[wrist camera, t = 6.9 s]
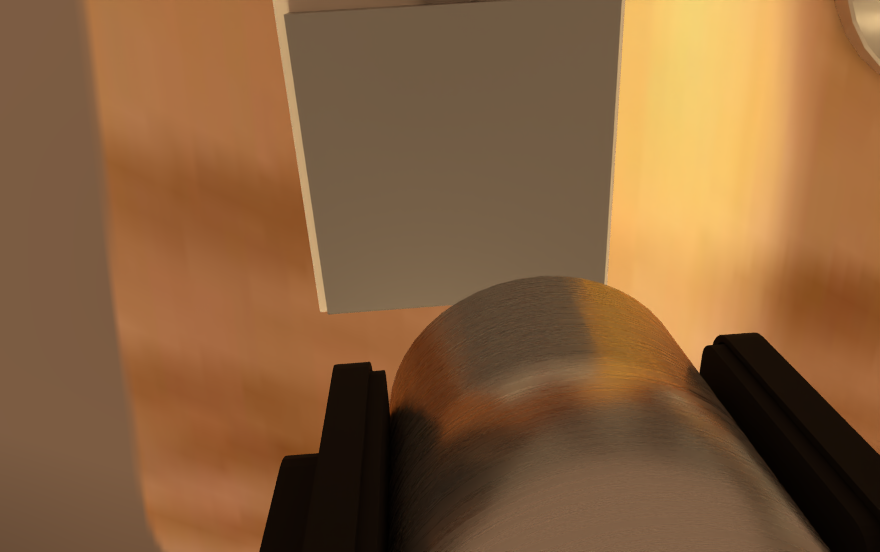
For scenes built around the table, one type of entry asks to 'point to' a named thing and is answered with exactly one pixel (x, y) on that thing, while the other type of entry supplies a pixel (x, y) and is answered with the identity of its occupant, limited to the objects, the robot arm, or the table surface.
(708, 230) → the table surface
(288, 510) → the robot arm
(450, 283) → the scale
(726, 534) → the cylinder
